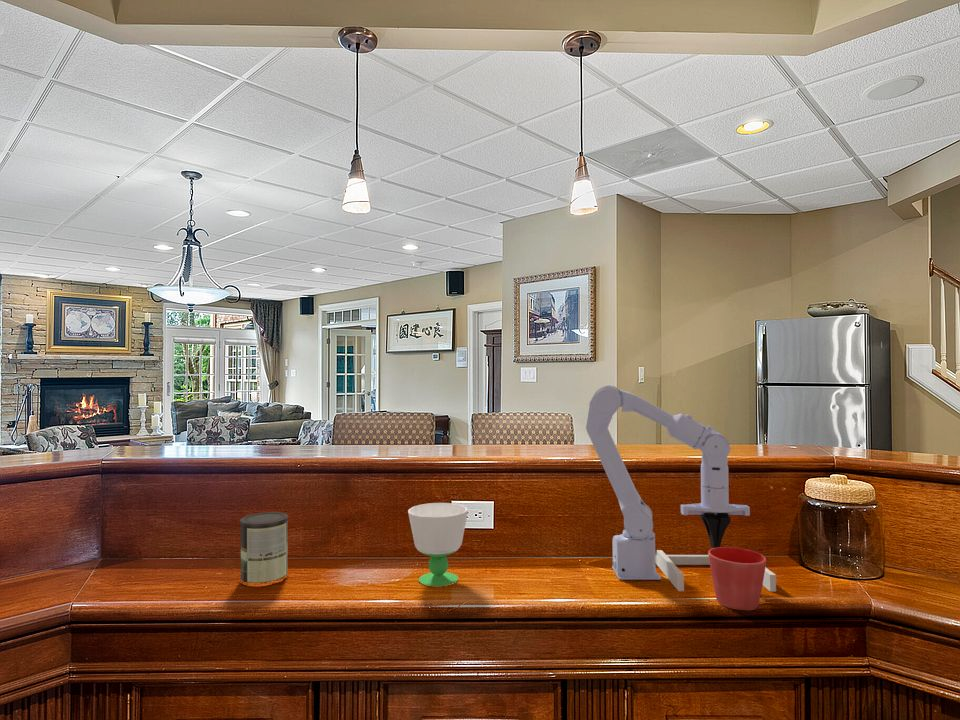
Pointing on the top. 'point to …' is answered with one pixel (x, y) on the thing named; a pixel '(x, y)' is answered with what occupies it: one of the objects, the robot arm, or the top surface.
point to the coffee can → (264, 547)
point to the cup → (438, 537)
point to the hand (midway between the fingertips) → (715, 547)
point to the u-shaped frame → (677, 577)
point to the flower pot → (737, 576)
